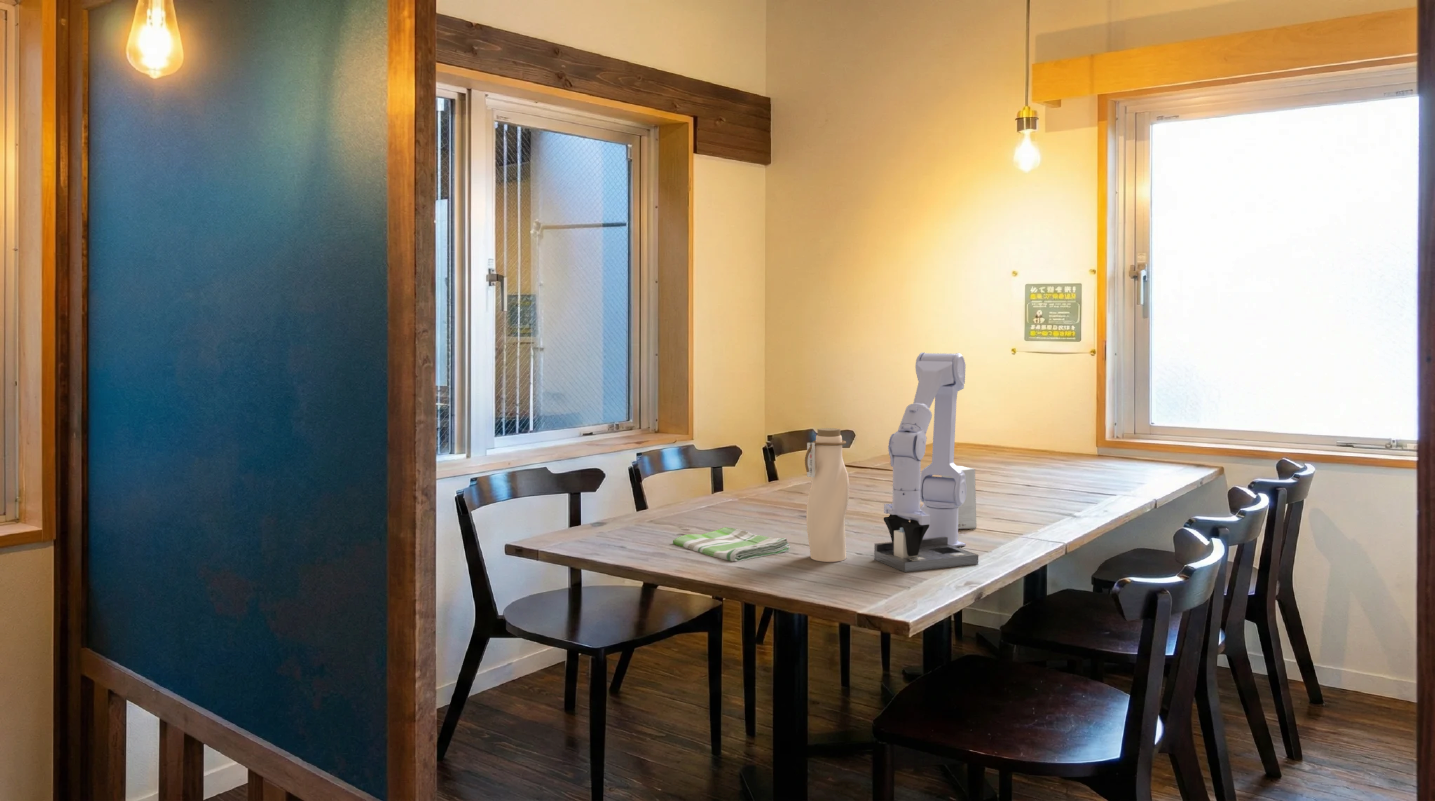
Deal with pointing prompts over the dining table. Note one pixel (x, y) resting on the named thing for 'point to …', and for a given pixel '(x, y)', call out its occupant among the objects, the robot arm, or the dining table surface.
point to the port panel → (926, 556)
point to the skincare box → (968, 501)
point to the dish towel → (733, 544)
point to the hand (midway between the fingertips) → (905, 552)
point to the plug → (900, 544)
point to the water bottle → (827, 496)
